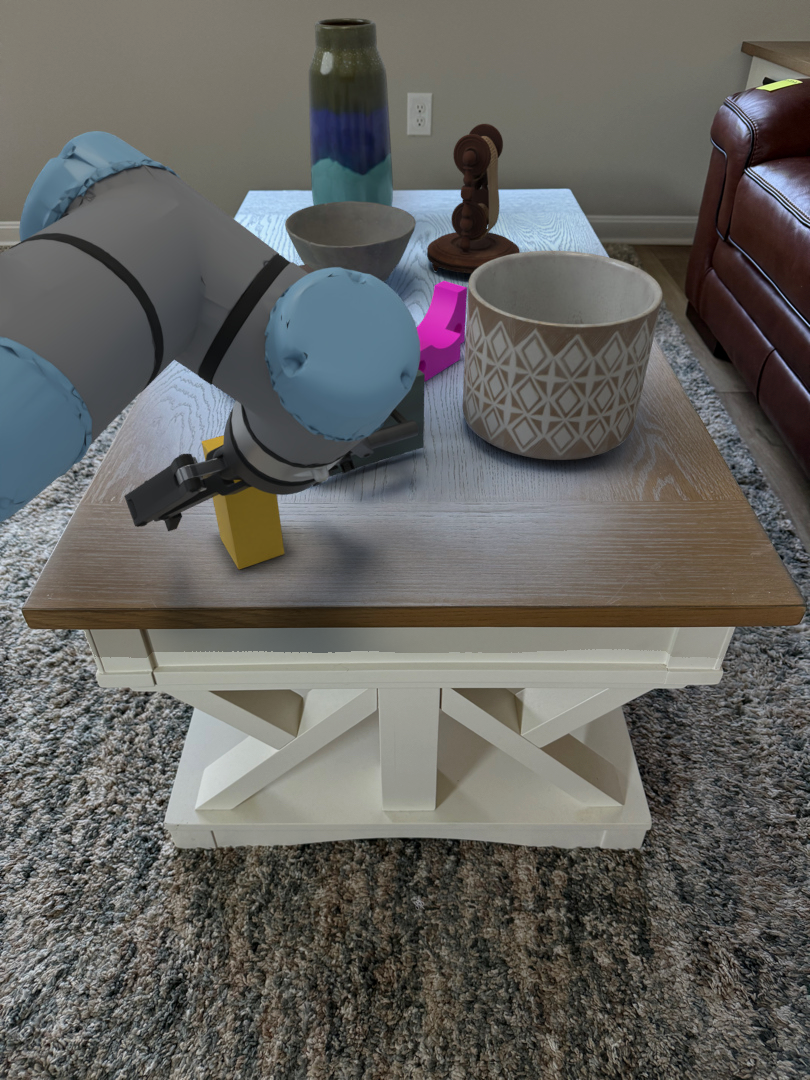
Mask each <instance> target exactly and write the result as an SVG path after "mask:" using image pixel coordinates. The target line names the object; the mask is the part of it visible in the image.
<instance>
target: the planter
mask: <svg viewBox="0 0 810 1080" xmlns="http://www.w3.org/2000/svg"><path fill="white" fill-rule="evenodd" d="M663 295H664V294H663V289H662V287H661V286H660V284H659V283H658V281H657V280H656V279H655V278H654V277H653V276H652V275H650V273H647V272H646V271H645V270H643V269H641V268H639V267H637V266H635V265H633V264H630V263H628V262H625V261H623V260H619V259H616V258H612V257H608V256H605V255H600V254H595V253H589V252H580V251H574V250H573V251H572V250H531V251H523V252H520V253H516V254H510V255H506V256H502V257H499V258H496V259H493V260H491V261H488V262H486V263H484V264H483V265H481V266H480V267H478V268H477V269H476V270H475V271H474V272H473V273H470V276H469V279H468V287H467V302H466V322H465V341H464V342H465V345H464V359H463V361H464V363H463V379H462V381H463V382H462V400H461V402H462V403H461V410H462V415H463V418H464V420H465V422H466V424H467V425H468V427H469V428H470V429H471V430H472V431H473V433H475V434H476V435H477V436H478V437H480V438H481V439H482V440H484V442H487V443H488V444H490V445H492V446H494V447H496V448H498V449H501V450H503V451H506V452H509V453H511V454H514V455H519V456H523V457H528V458H532V459H539V460H550V461H568V460H580V459H585V458H590V457H595V456H598V455H601V454H604V453H607V452H609V451H611V450H613V449H615V448H617V447H618V446H620V445H621V444H622V443H623V442H625V441H626V440H627V438H628V437H629V436H630V435H631V433H632V432H633V431H634V428H635V424H636V421H637V416H638V411H639V407H640V403H641V397H642V393H643V388H644V384H645V379H646V374H647V370H648V365H649V361H650V356H651V351H652V347H653V343H654V337H655V333H656V329H657V324H658V319H659V315H660V310H661V306H662V301H663Z"/></svg>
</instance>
